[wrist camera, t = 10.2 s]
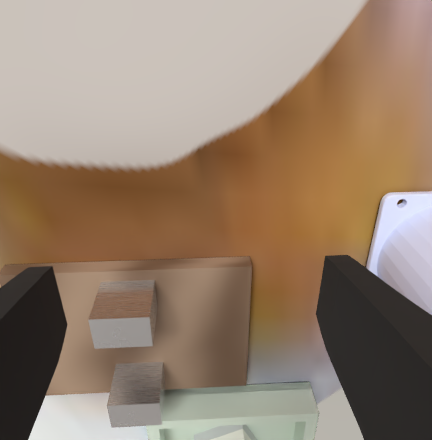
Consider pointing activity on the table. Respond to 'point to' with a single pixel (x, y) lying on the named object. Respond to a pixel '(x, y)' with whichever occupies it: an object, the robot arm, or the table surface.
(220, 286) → the clip board
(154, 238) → the table surface
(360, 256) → the table surface
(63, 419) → the table surface
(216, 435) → the white and orange block
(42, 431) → the table surface
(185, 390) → the tray
